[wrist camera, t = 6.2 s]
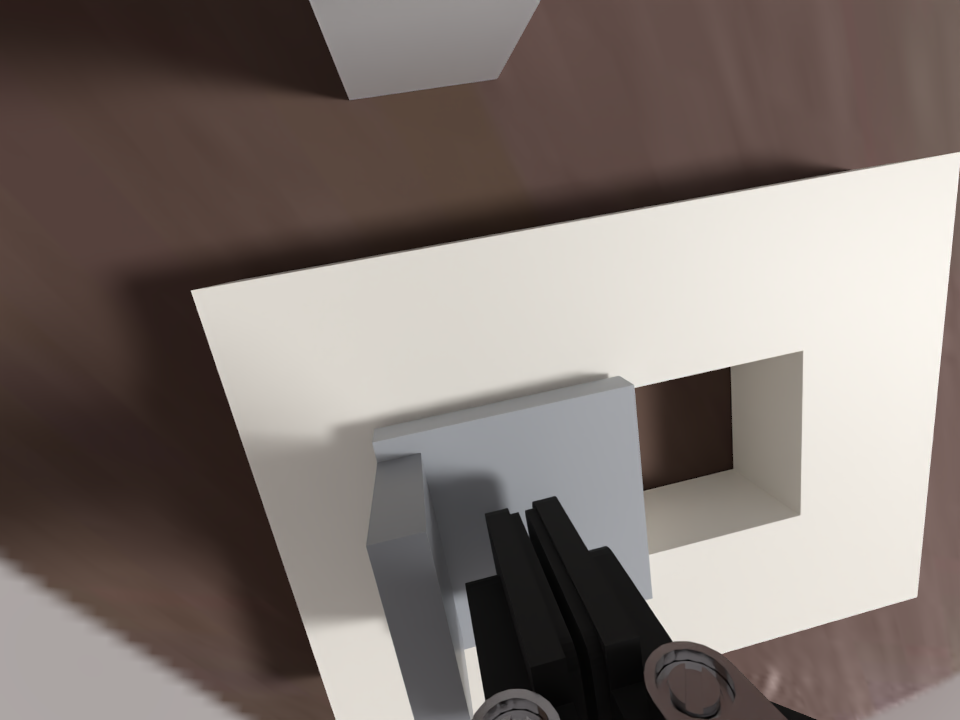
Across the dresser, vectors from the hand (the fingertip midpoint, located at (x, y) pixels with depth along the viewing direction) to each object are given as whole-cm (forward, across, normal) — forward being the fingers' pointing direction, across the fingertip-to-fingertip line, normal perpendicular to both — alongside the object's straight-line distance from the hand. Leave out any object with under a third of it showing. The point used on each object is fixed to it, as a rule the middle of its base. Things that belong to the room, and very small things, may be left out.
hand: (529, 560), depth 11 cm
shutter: (+2, 0, 0) cm, 2 cm away
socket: (+5, -4, 0) cm, 6 cm away
